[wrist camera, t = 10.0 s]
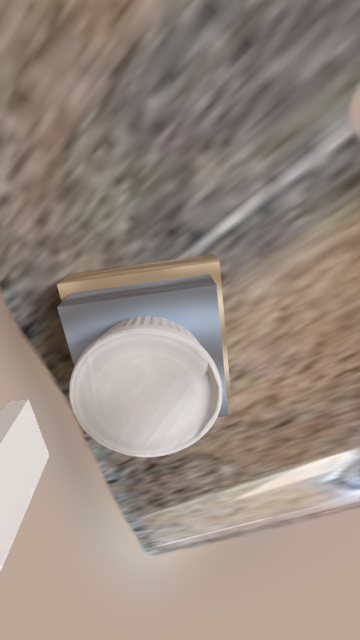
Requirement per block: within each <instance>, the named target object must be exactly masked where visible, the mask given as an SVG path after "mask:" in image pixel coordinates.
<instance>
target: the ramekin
mask: <svg viewBox="0 0 360 640" xmlns="http://www.w3.org/2000/svg"><path fill="white" fill-rule="evenodd" d="M222 395H223V390H222V383H221V378H220V375H219V372H218V369H217V367H216V365H215V363H214V361H213V359H212V358H211V356H210V355H209V354H208V352H207V351H206V350H205V349H204V348H203V347H202V346H201V345H200V343H199V342H198V341H197V339H196V338H195V337H194V336H193V335H192V334H191V332H189V331H188V330H186V328H184V327H183V326H181V325H179V324H178V323H176V322H173V321H171V320H169V319H165V318H163V317H156V316H142V317H135V318H130V319H127V320H124V321H122V322H120V323H118V324H116V325H115V326H113V327H112V328H110V329H109V330H108V331H107V332H106V333H104V334H103V335H102V336H101V337H99V338H98V339H96V340H95V341H94V342H93V343H91V344H90V345H89V346H88V347H87V348H86V350H85V351H84V352H83V353H82V355H81V356H80V358H79V359H78V361H77V363H76V365H75V367H74V369H73V372H72V375H71V379H70V384H69V399H70V404H71V407H72V410H73V413H74V415H75V417H76V420H77V421H78V423H79V424H80V426H81V427H82V428H83V429H84V431H85V432H86V433H87V434H88V435H89V436H90V437H92V438H93V439H94V440H95V441H96V442H98V443H100V444H101V445H103V446H104V447H106V448H109V449H110V450H113V451H116V452H118V453H121V454H124V455H128V456H134V457H157V456H164V455H168V454H172V453H175V452H177V451H180V450H182V449H184V448H186V447H188V446H190V445H192V444H193V443H195V442H196V441H198V440H199V439H200V438H201V437H202V436H204V435H205V433H207V432H208V430H209V429H210V428H211V427H212V425H213V424H214V422H215V420H216V419H217V417H218V414H219V412H220V408H221V404H222Z"/></svg>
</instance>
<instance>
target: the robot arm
mask: <svg viewBox="0 0 360 640" xmlns="http://www.w3.org/2000/svg"><path fill="white" fill-rule="evenodd" d="M48 457H49V453H48V451H47V448H46V445H45V442H44V440H43V437H42V434H41V432H40V429H39V426H38V424H37V421H36V418H35V416H34V412H33V410H32V407H31V404H30V402H29V399H25V400H16V401H9V402H7V403H6V405H5V406H4V408H3V409H2V410H1V412H0V571H1V569H2V567H3V564H4V562H5V559H6V557H7V555H8V552H9V549H10V548H11V545H12V543H13V540H14V538H15V536H16V533H17V531H18V528H19V526H20V524H21V521H22V519H23V517H24V514H25V512H26V510H27V507H28V505H29V502H30V500H31V497H32V495H33V493H34V491H35V488H36V486H37V484H38V481H39V479H40V476H41V474H42V472H43V469H44V467H45V464H46V462H47V460H48Z"/></svg>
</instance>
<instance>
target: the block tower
mask: <svg viewBox="0 0 360 640" xmlns="http://www.w3.org/2000/svg"><path fill="white" fill-rule="evenodd" d="M57 287H58V291H59V294H60V298H61V301H62V303H61V304H60V305H59V306H58V307H57V309H58V312H59V316H60V319H61V323H62V326H63V330H64V333H65V336H66V340H67V343H68V347H69V350H70V354H71V357H72V361H73V364H74V367H75V365H76V363H77V361H78V359H79V358H80V356H81V355H82V353H83V352H84V351H85V350H86V348H87V347H88V346H89V345H90V344H91V343H93V342H94V341H95V340H96V339H98V338H99V337H101V336H102V335H103V334H104V333H106V332H107V331H108V330H109V329H110V328H112V327H113V326H115V325H116V324H118V323H120V322H122V321H124V320H127V319H130V318H135V317H142V316H156V317H163V318H165V319H169V320H171V321H173V322H176V323H178V324H179V325H181V326H183V327H184V328H186V330H188V331H189V332H191V334H192V335H193V336H194V337H195V338H196V339H197V341H198V342H199V343H200V345H201V346H202V347H203V348H204V349H205V350H206V351H207V352H208V354H209V355H210V356H211V358H212V359H213V361H214V363H215V365H216V367H217V369H218V372H219V375H220V378H221V383H222V390H223V395H222V404H221V408H220V412H219V414H218V417H222V416H228V405H227V399H229V398H231V391H230V379H229V367H228V356H227V344H226V332H225V320H224V309H223V297H222V285H221V273H220V262H219V260H218V259H217V258H216V257H215V256H214V255H213V254H210V255H203V256H196V257H189V258H181V259H174V260H167V261H160V262H153V263H146V264H139V265H132V266H125V267H117V268H110V269H103V270H96V271H89V272H82V273H75V274H69V275H67V276H66V277H65V278H64V279H63V280H61V281H60V282H59V283H58V284H57Z"/></svg>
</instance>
